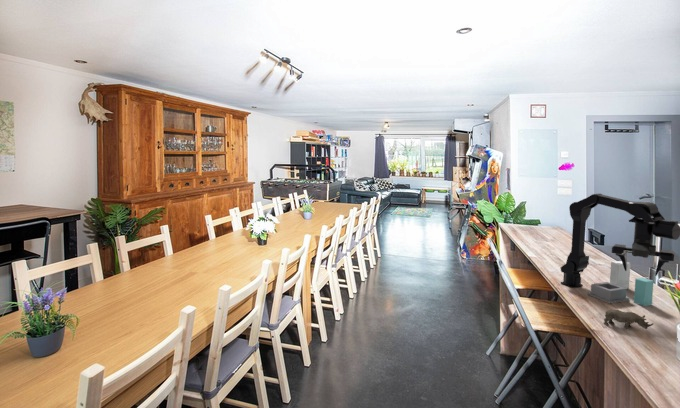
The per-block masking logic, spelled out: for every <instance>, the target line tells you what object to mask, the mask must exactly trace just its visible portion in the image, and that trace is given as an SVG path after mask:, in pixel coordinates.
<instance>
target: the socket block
mask: <svg viewBox="0 0 680 408" xmlns="http://www.w3.org/2000/svg"><path fill="white" fill-rule="evenodd" d="M627 291H628V290H627V288H624V287H621V286H618V285H615V284H612V283H610V281H609V282H608V281H605V282H597V283H590V292H589V291H588V292H587V296H589V297H592V298H595V299H597V300H600V301H603V302H605V303H608V304H616V303H620V302H621V303H623V302H627V301H630V297H627Z"/></svg>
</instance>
